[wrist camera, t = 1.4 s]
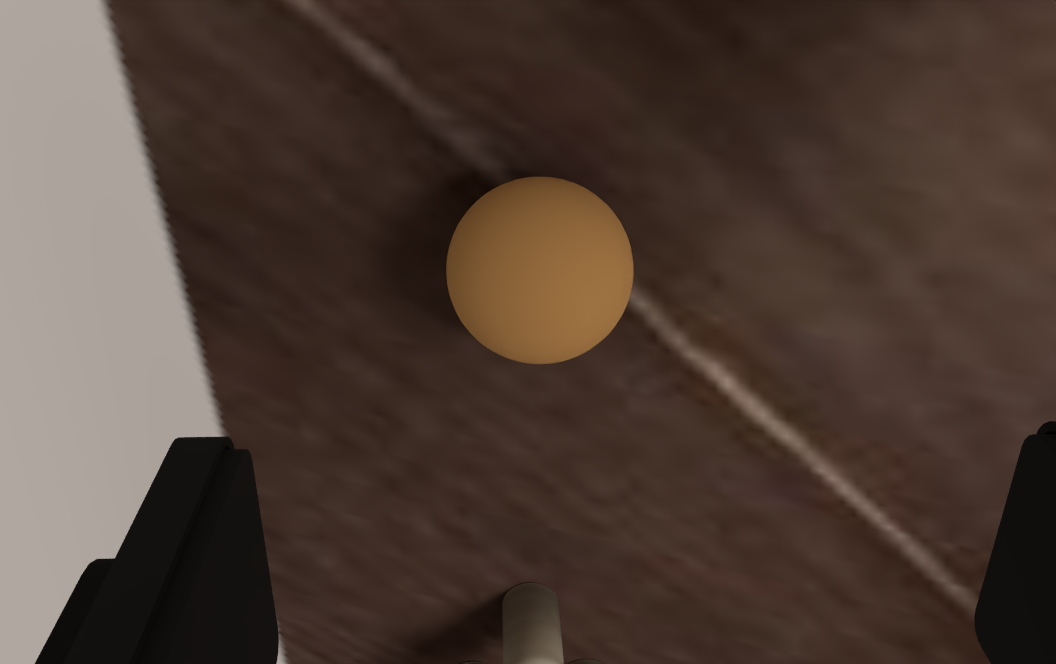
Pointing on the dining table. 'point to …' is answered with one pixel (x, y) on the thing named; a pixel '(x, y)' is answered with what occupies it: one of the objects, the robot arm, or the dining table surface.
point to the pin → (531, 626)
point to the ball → (539, 270)
